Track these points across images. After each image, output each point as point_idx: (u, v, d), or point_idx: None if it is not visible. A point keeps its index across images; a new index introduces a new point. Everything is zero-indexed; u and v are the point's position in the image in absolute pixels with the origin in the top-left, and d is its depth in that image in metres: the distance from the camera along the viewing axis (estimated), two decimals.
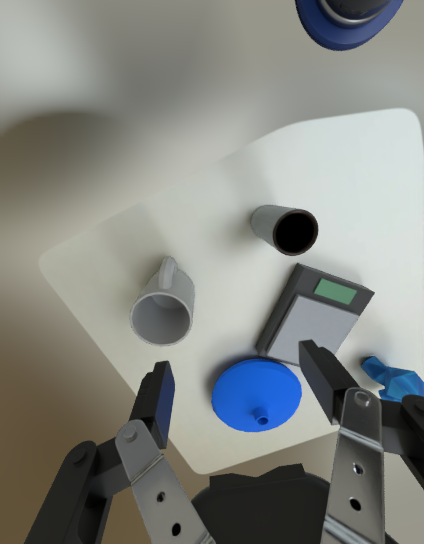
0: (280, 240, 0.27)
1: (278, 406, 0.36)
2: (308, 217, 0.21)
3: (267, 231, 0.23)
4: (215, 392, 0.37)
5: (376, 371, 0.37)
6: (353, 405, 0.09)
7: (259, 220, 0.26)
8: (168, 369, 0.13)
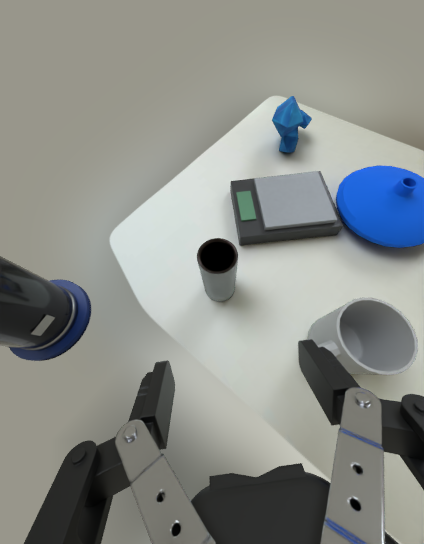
0: (228, 266, 0.29)
1: (381, 180, 0.34)
2: (201, 253, 0.24)
3: (226, 277, 0.25)
4: (418, 241, 0.31)
5: (289, 140, 0.42)
6: (353, 405, 0.09)
7: (221, 291, 0.28)
8: (168, 369, 0.13)
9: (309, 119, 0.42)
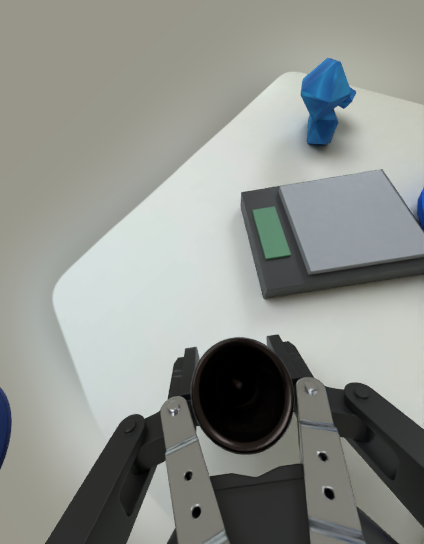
0: (256, 364, 0.15)
1: None
2: (200, 382, 0.10)
3: None
4: None
5: (325, 125, 0.28)
6: (305, 395, 0.09)
7: None
8: (197, 355, 0.14)
9: (353, 93, 0.28)
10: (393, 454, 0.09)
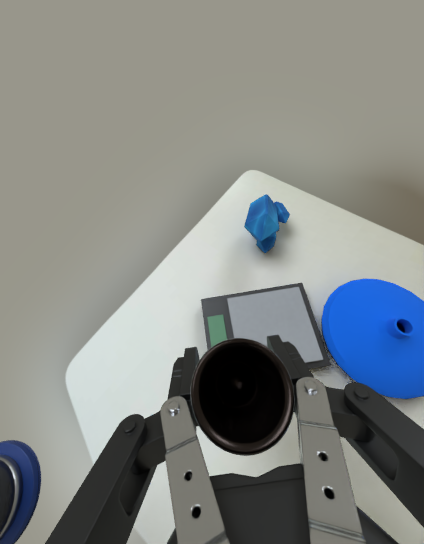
0: (256, 364, 0.15)
1: (371, 308, 0.29)
2: (200, 382, 0.10)
3: None
4: (419, 394, 0.26)
5: (266, 240, 0.37)
6: (304, 395, 0.09)
7: None
8: (197, 355, 0.14)
9: (287, 216, 0.37)
10: (393, 454, 0.09)
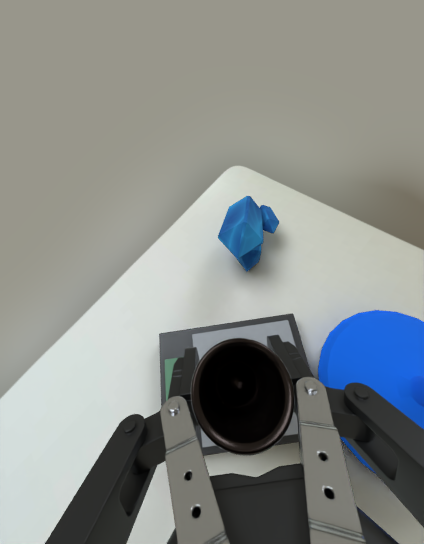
0: (256, 364, 0.15)
1: (388, 357, 0.21)
2: (200, 382, 0.10)
3: None
4: None
5: (248, 254, 0.29)
6: (304, 395, 0.09)
7: None
8: (197, 355, 0.14)
9: (275, 224, 0.29)
10: (393, 454, 0.09)
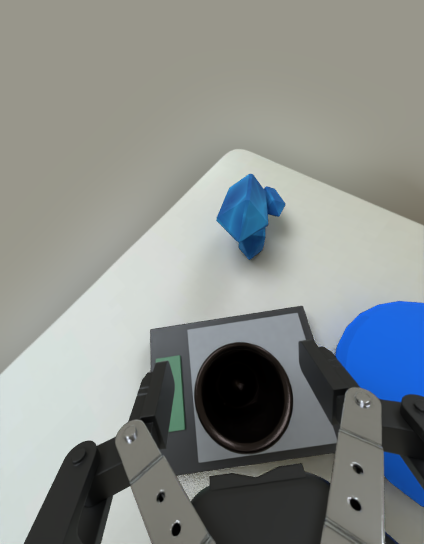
0: (257, 366, 0.15)
1: (418, 355, 0.18)
2: (203, 385, 0.10)
3: None
4: None
5: (251, 241, 0.26)
6: (353, 405, 0.09)
7: None
8: (168, 369, 0.13)
9: (281, 206, 0.26)
10: None
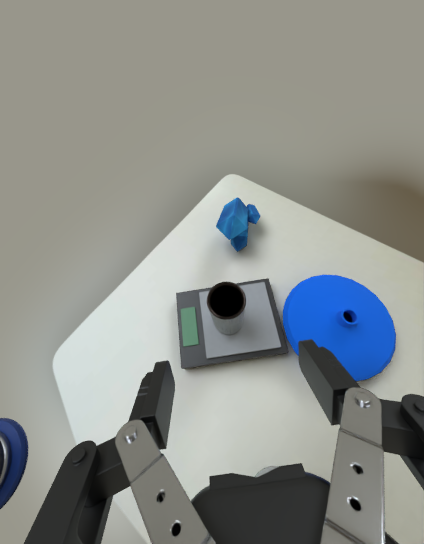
0: (236, 302, 0.30)
1: (326, 301, 0.32)
2: (210, 298, 0.25)
3: (236, 320, 0.25)
4: (364, 377, 0.29)
5: (238, 239, 0.41)
6: (353, 405, 0.09)
7: (231, 329, 0.29)
8: (168, 369, 0.13)
9: (257, 217, 0.40)
10: None
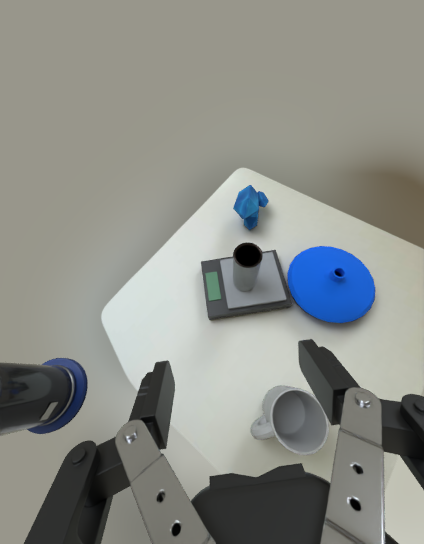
0: (252, 263, 0.39)
1: (321, 264, 0.41)
2: (235, 254, 0.34)
3: (254, 270, 0.34)
4: (350, 319, 0.38)
5: (250, 219, 0.50)
6: (353, 405, 0.09)
7: (249, 282, 0.38)
8: (168, 369, 0.13)
9: (266, 201, 0.49)
10: None
